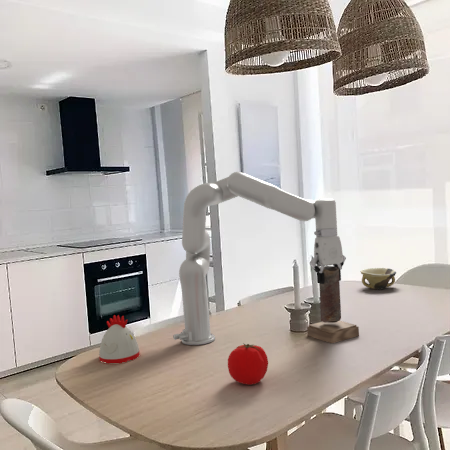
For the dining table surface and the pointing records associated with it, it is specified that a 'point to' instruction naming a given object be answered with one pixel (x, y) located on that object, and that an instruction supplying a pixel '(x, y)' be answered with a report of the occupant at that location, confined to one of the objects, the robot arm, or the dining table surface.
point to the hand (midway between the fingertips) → (329, 281)
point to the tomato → (248, 364)
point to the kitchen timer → (118, 343)
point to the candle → (330, 295)
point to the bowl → (378, 277)
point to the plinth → (333, 331)
